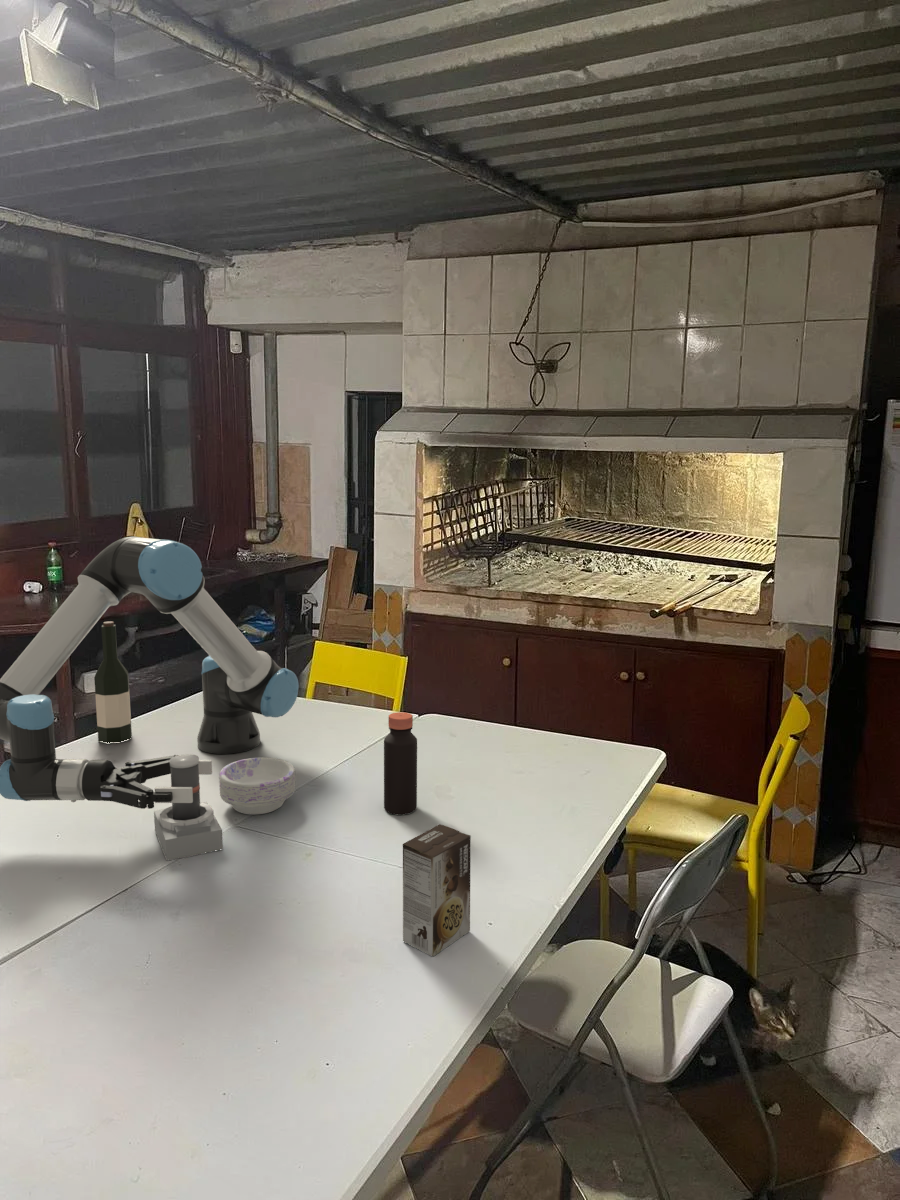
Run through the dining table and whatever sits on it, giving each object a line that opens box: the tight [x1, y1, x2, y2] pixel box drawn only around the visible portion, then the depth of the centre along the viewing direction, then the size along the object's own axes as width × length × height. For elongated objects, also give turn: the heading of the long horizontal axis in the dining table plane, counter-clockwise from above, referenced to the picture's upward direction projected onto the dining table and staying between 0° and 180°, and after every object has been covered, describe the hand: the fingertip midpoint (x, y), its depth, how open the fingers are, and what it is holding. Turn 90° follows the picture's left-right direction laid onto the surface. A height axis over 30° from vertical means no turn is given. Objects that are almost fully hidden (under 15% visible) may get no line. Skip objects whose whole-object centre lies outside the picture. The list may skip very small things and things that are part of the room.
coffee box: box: [402, 823, 472, 957], centre depth 132 cm, size 9×6×16 cm
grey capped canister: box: [170, 753, 201, 820], centre depth 163 cm, size 5×5×12 cm
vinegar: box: [383, 711, 418, 816], centre depth 178 cm, size 7×7×20 cm
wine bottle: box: [93, 620, 133, 743], centre depth 218 cm, size 8×8×30 cm
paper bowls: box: [218, 756, 296, 816], centre depth 180 cm, size 15×15×8 cm
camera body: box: [153, 801, 224, 861], centre depth 165 cm, size 10×14×6 cm
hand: (202, 780), depth 163 cm, fingers open, 13 cm apart
